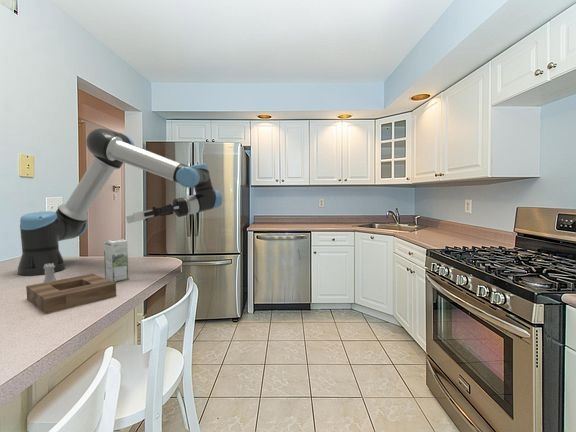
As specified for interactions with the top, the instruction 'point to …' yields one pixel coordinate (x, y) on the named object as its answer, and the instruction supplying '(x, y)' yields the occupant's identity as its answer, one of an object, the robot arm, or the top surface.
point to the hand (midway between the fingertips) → (130, 218)
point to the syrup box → (116, 260)
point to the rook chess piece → (49, 272)
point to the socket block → (70, 292)
